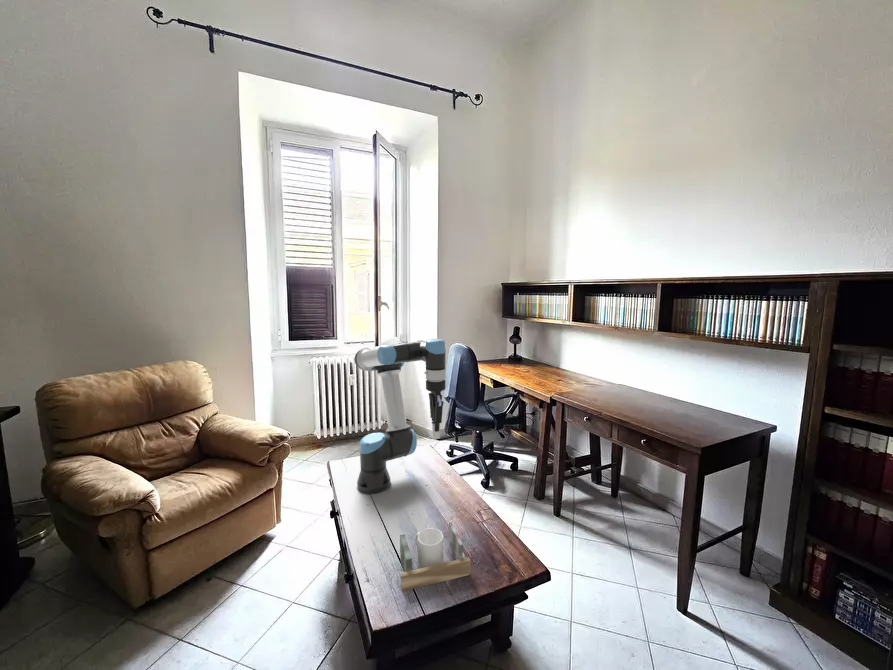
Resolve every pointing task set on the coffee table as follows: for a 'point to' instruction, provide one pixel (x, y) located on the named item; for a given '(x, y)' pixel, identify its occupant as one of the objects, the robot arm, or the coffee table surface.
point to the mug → (429, 547)
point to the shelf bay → (435, 572)
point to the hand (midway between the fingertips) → (436, 438)
